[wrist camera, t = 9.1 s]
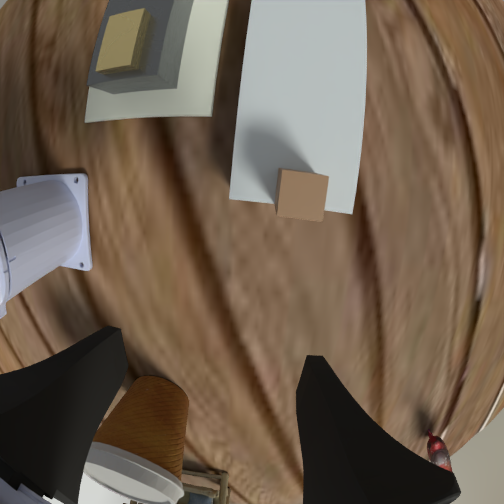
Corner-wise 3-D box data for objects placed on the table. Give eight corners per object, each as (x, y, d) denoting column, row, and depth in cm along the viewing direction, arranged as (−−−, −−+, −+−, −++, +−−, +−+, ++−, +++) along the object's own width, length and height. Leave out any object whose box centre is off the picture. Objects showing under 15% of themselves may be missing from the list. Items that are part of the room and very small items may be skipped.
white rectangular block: (235, 192, 18) (218, 210, 12) (258, -10, 13) (254, -62, 6) (339, 205, 18) (374, 229, 12) (352, 5, 12) (380, -40, 6)
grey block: (113, 94, 15) (77, 82, 11) (133, 7, 13) (107, -17, 8) (176, 88, 15) (150, 70, 11) (194, -2, 12) (177, -34, 8)
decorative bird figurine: (426, 449, 29) (441, 492, 19) (409, 411, 25) (434, 473, 15) (440, 441, 28) (457, 483, 19) (429, 399, 24) (458, 459, 15)
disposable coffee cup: (104, 367, 24) (53, 449, 13) (176, 357, 23) (132, 468, 11) (150, 422, 27) (121, 499, 16) (219, 418, 25) (202, 513, 14)
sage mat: (88, 122, 16) (84, 122, 16) (115, -2, 12) (113, -4, 12) (211, 116, 16) (210, 115, 16) (232, -18, 12) (231, -22, 12)
